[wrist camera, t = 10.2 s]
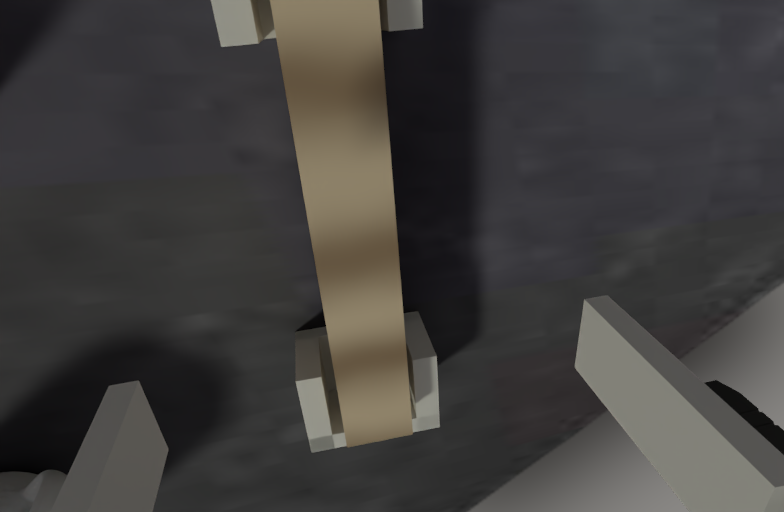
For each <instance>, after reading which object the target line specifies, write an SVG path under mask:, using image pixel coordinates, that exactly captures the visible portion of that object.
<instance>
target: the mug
mask: <svg viewBox="0 0 784 512" xmlns="http://www.w3.org/2000/svg"><path fill="white" fill-rule="evenodd" d="M66 477H67V475H66V474H64V473H62V472H60V471H57V470H45V471H43V472H41V473H40V474H39V475H37V474H33V473H29V472H17V471H11V472H1V473H0V512H51V510H52V508H53V505H54V503H55V501H56V499H57V497H58V495H59V492H60V490H61V488H62V486H63V484H64V482H65V479H66Z"/></svg>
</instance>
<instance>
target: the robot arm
mask: <svg viewBox="0 0 784 512" xmlns="http://www.w3.org/2000/svg"><path fill="white" fill-rule="evenodd" d="M575 369H576V370H577V371H578V372H579V374H580V375H581V376H582V377H583V379H584V380H585V381H586V382H587V384H588V385H589V386H590V387H591V389H592V390H593V391H594V392H595V394H596V395H597V396H598V397H599V399H600V400H601V401H602V402H603V404H604V405H605V406H606V407H607V409H608V410H609V411H610V412H611V414H612V415H613V416H614V418H615V419H616V420H617V421H618V422H619V424H620V425H621V426H622V428H623V429H624V430H625V431H626V432H627V434H628V435H629V436H630V438H631V439H632V440H633V441H634V443H635V444H636V445H637V446H638V448H639V449H640V450H641V451H642V453H643V454H644V455H645V456H646V458H647V459H648V460H649V462H650V463H651V464H652V465H653V467H654V468H655V469H656V470H657V472H658V473H659V474H660V475H661V477H662V478H663V479H664V480H665V482H666V483H667V484H668V485H669V486H670V488H671V489H672V490H673V492H674V493H675V494H676V495H677V497H678V498H679V499H680V500H681V502H682V503H683V504H684V505H685V507H686V508H687V509H688V510H689V512H784V430H783V429H781V428H780V427H779V426H778V425H774V423H773V421H772V420H771V419H770V418H768V417H767V416H766V415H765V414H764V413H762V412H759V411H758V408H757V407H756V406H754V405H753V404H752V403H751V402H750V401H749V400H747V399H746V398H745V397H744V396H743V395H742V394H740V393H739V392H737V391H735V390H733V389H732V388H730V387H728V386H726V385H724V384H722V383H720V382H719V381H716V380H715V381H711V382H706V383H704V382H702V381H701V380H700V379H699V378H698V377H697V376H696V375H695V374H694V373H692V372H691V371H690V370H689V369H688V368H687V367H686V366H685V365H684V364H683V363H681V362H680V361H679V360H678V359H677V358H676V357H675V356H674V355H673V354H672V353H670V352H669V351H668V350H667V349H666V348H665V347H664V346H663V345H662V344H660V343H659V342H658V341H657V340H656V339H655V338H654V337H653V336H652V335H651V334H649V333H648V332H647V331H646V330H645V329H644V328H643V327H642V326H641V325H640V324H638V323H637V322H636V321H635V320H634V319H633V318H632V317H631V316H630V315H628V314H627V313H626V312H625V311H624V310H623V309H622V308H621V307H620V306H619V305H617V304H616V303H615V302H614V301H613V300H612V299H611V298H610V297H609V296H607V295H606V296H600V297H595V298H589V299H584V306H583V313H582V320H581V327H580V334H579V341H578V348H577V355H576V362H575ZM168 450H169V449H168V447H167V444H166V442H165V440H164V438H163V435H162V433H161V431H160V428H159V426H158V424H157V421H156V419H155V417H154V414H153V412H152V410H151V408H150V405H149V403H148V401H147V398H146V396H145V394H144V391H143V389H142V387H141V385H140V382H139V380H138V381H132V382H127V383H121V384H116V385H110V386H109V387H108V389H107V391H106V393H105V395H104V397H103V400H102V402H101V404H100V406H99V408H98V410H97V413H96V415H95V417H94V419H93V421H92V423H91V425H90V428H89V430H88V432H87V434H86V436H85V438H84V441H83V443H82V445H81V447H80V449H79V451H78V454H77V456H76V458H75V460H74V462H73V464H72V467H71V469H70V471H69V473H68V475H67V477H66V479H65V482H64V484H63V486H62V488H61V490H60V492H59V495H58V497H57V499H56V501H55V503H54V505H53V508H52V510H51V512H152V511H153V507H154V504H155V500H156V496H157V492H158V488H159V485H160V481H161V477H162V473H163V469H164V465H165V462H166V458H167V454H168Z"/></svg>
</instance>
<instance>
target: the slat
mask: <svg viewBox="0 0 784 512" xmlns="http://www.w3.org/2000/svg"><path fill="white" fill-rule="evenodd" d="M270 4H271V9H272V15H273V21H274V27H275V33H276V38H277V44H278V50H279V56H280V62H281V67H282V73H283V79H284V85H285V91H286V96H287V102H288V108H289V114H290V120H291V125H292V131H293V137H294V143H295V149H296V154H297V160H298V166H299V172H300V178H301V183H302V189H303V195H304V201H305V207H306V212H307V218H308V224H309V230H310V236H311V241H312V247H313V253H314V259H315V265H316V270H317V276H318V282H319V288H320V294H321V299H322V305H323V311H324V317H325V323H326V328H327V334H328V340H329V346H330V352H331V357H332V363H333V369H334V375H335V381H336V386H337V392H338V398H339V404H340V410H341V415H342V421H343V427H344V433H345V439H346V444H347V447H352V446H357V445H362V444H367V443H372V442H377V441H382V440H387V439H391V438H396V437H401V436H406V435H411V434H413V428H412V415H411V402H410V390H409V377H408V365H407V352H406V339H405V327H404V314H403V302H402V289H401V276H400V264H399V251H398V239H397V226H396V213H395V201H394V188H393V176H392V163H391V150H390V138H389V125H388V113H387V100H386V87H385V75H384V62H383V50H382V37H381V24H380V12H379V0H270Z"/></svg>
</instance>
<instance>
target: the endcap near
mask: <svg viewBox="0 0 784 512" xmlns="http://www.w3.org/2000/svg"><path fill="white" fill-rule="evenodd" d="M211 3H212V7H213V12H214V16H215V21H216V25H217V30H218V34H219V39H220V43H221V47H226V46H237V45H248V44H258V43H260V42H261V41H262V40H263V39H269V38H276V33H275V27H274V21H273V15H272V9H271V4H270V0H211ZM379 12H380V24H381V30H384V31H398V30H409V29H420V28H423V14H422V0H379Z"/></svg>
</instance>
